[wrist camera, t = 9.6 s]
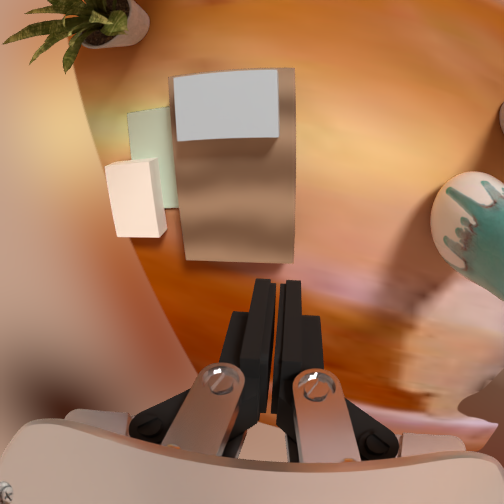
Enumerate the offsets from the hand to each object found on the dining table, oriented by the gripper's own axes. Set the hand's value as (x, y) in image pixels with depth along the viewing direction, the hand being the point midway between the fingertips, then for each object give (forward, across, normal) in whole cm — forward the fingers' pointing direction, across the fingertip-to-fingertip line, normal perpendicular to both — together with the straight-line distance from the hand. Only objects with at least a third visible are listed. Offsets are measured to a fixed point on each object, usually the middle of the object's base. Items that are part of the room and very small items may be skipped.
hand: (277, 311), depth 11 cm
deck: (+23, +5, -1) cm, 24 cm away
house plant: (+24, +16, -19) cm, 34 cm away
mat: (+23, +15, -2) cm, 28 cm away
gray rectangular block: (+20, +5, -7) cm, 21 cm away
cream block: (+20, +17, +3) cm, 27 cm away
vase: (+24, -22, +3) cm, 32 cm away
